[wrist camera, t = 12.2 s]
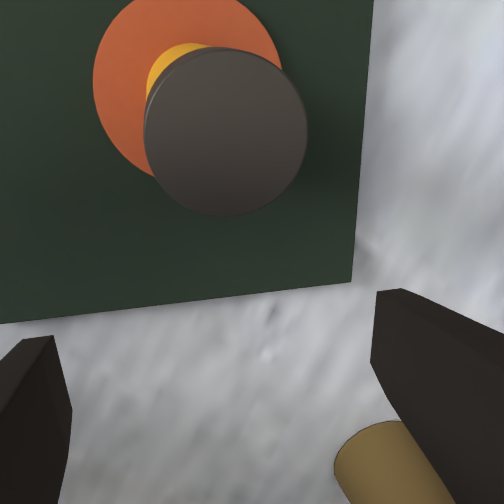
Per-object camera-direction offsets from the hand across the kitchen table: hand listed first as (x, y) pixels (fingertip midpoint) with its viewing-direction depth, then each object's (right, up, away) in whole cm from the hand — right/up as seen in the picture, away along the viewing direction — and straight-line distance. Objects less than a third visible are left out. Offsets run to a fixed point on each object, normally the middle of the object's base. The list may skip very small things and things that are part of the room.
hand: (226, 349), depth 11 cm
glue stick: (-2, +8, +7) cm, 11 cm away
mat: (-3, +7, +8) cm, 11 cm away
